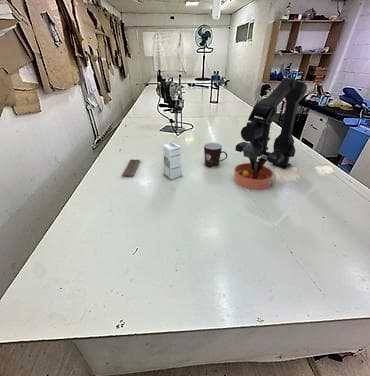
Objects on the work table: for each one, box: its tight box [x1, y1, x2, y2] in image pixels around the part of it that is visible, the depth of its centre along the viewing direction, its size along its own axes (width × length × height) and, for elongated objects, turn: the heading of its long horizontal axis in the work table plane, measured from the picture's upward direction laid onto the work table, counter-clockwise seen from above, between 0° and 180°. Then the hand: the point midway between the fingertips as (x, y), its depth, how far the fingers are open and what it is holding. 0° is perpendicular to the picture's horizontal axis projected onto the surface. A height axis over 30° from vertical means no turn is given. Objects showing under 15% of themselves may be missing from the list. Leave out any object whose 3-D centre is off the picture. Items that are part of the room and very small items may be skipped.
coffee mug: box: [203, 142, 228, 169], centre depth 113 cm, size 12×9×10 cm
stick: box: [252, 160, 259, 179], centre depth 98 cm, size 2×2×9 cm
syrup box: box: [162, 142, 182, 180], centre depth 103 cm, size 6×6×14 cm
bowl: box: [233, 162, 274, 191], centre depth 100 cm, size 16×16×5 cm
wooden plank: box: [122, 158, 141, 177], centre depth 111 cm, size 17×1×5 cm
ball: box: [242, 171, 249, 178], centre depth 103 cm, size 3×3×3 cm
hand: (255, 171), depth 98 cm, fingers closed on stick, 2 cm apart
